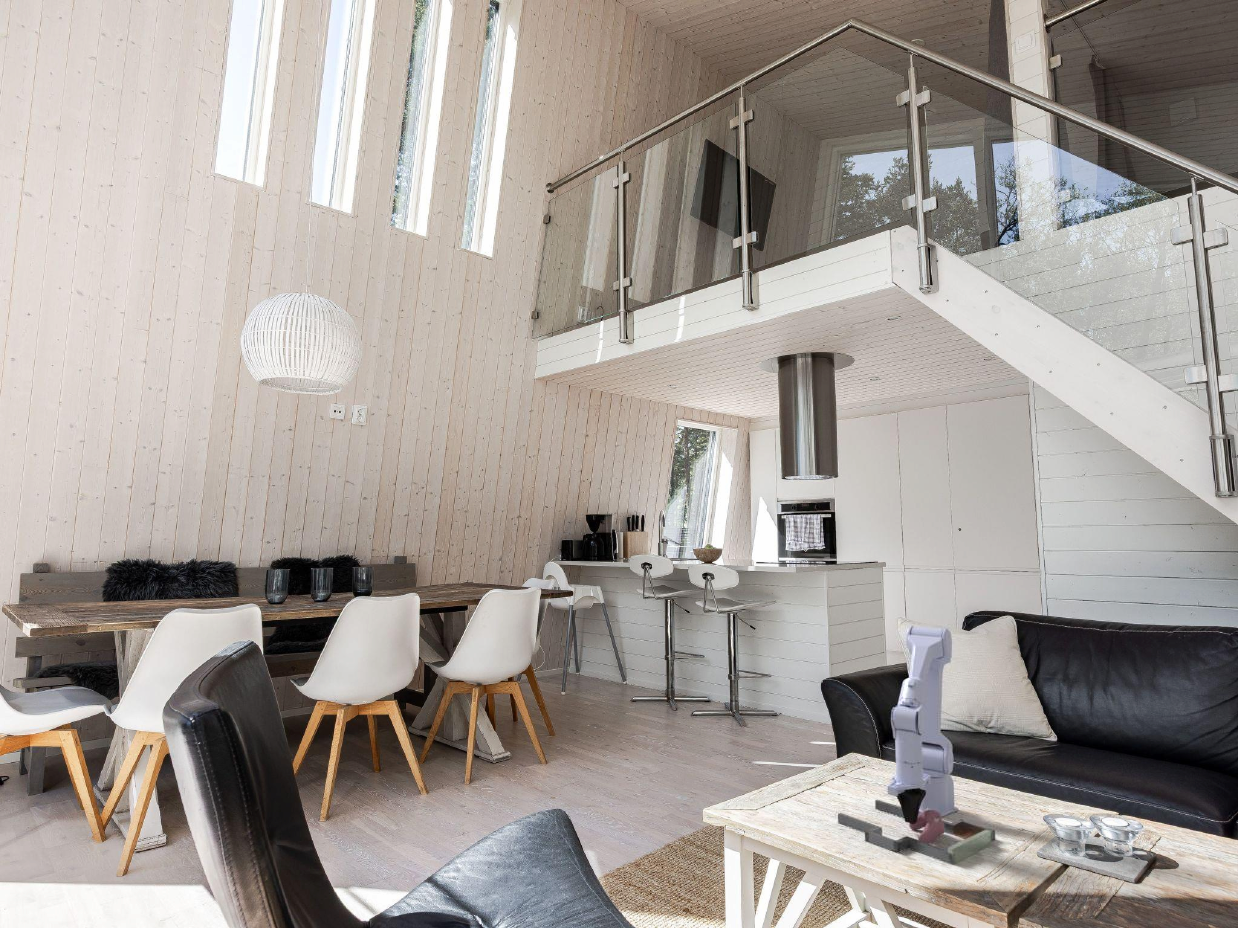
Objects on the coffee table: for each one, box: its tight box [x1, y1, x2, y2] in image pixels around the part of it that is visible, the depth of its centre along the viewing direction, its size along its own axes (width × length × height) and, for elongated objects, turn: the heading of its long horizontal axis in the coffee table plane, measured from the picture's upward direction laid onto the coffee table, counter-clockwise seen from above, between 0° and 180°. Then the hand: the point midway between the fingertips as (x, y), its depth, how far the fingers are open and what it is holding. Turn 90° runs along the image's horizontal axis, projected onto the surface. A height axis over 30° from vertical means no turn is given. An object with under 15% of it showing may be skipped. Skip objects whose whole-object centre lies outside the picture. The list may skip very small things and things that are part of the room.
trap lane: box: [837, 799, 996, 865], centre depth 172 cm, size 24×28×3 cm
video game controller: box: [908, 808, 946, 844], centre depth 170 cm, size 10×5×7 cm, turn 171°
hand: (910, 822), depth 172 cm, fingers closed
